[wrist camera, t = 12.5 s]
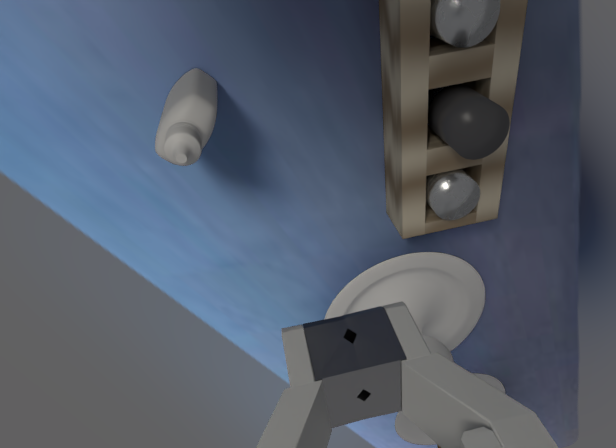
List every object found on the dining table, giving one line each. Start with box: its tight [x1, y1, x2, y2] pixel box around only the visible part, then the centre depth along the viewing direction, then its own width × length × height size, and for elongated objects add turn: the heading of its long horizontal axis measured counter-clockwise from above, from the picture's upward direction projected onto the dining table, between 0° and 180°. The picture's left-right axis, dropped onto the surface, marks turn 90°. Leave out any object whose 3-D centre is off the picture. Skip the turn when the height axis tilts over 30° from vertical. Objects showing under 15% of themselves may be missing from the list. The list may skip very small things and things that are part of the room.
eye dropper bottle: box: [155, 68, 217, 166], centre depth 32 cm, size 4×6×12 cm
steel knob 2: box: [426, 168, 480, 220], centre depth 43 cm, size 5×5×5 cm
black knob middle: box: [428, 84, 510, 160], centre depth 36 cm, size 5×5×5 cm
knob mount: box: [379, 0, 528, 239], centre depth 39 cm, size 24×10×5 cm, turn 8°
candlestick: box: [324, 252, 505, 445], centre depth 45 cm, size 21×25×28 cm
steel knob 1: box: [430, 0, 500, 48], centre depth 34 cm, size 5×5×5 cm
